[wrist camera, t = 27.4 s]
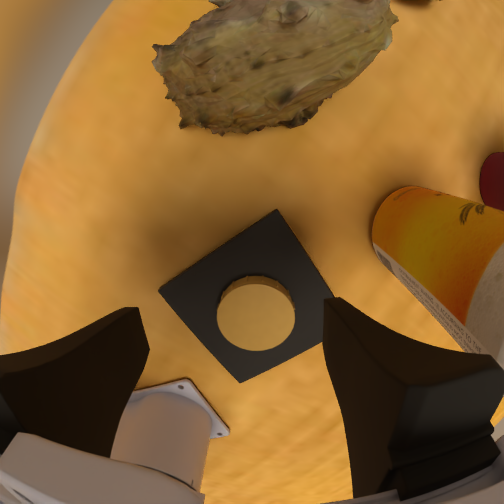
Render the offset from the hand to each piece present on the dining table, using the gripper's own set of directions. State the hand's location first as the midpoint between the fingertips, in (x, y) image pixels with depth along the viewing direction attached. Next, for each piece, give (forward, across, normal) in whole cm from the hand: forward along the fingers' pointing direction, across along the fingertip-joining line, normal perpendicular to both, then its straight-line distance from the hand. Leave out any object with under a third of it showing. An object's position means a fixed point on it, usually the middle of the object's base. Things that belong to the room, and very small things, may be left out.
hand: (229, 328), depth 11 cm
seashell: (+10, -3, -13) cm, 17 cm away
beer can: (+10, -11, -1) cm, 15 cm away
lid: (+8, 0, +4) cm, 9 cm away
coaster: (+9, 0, +4) cm, 10 cm away
